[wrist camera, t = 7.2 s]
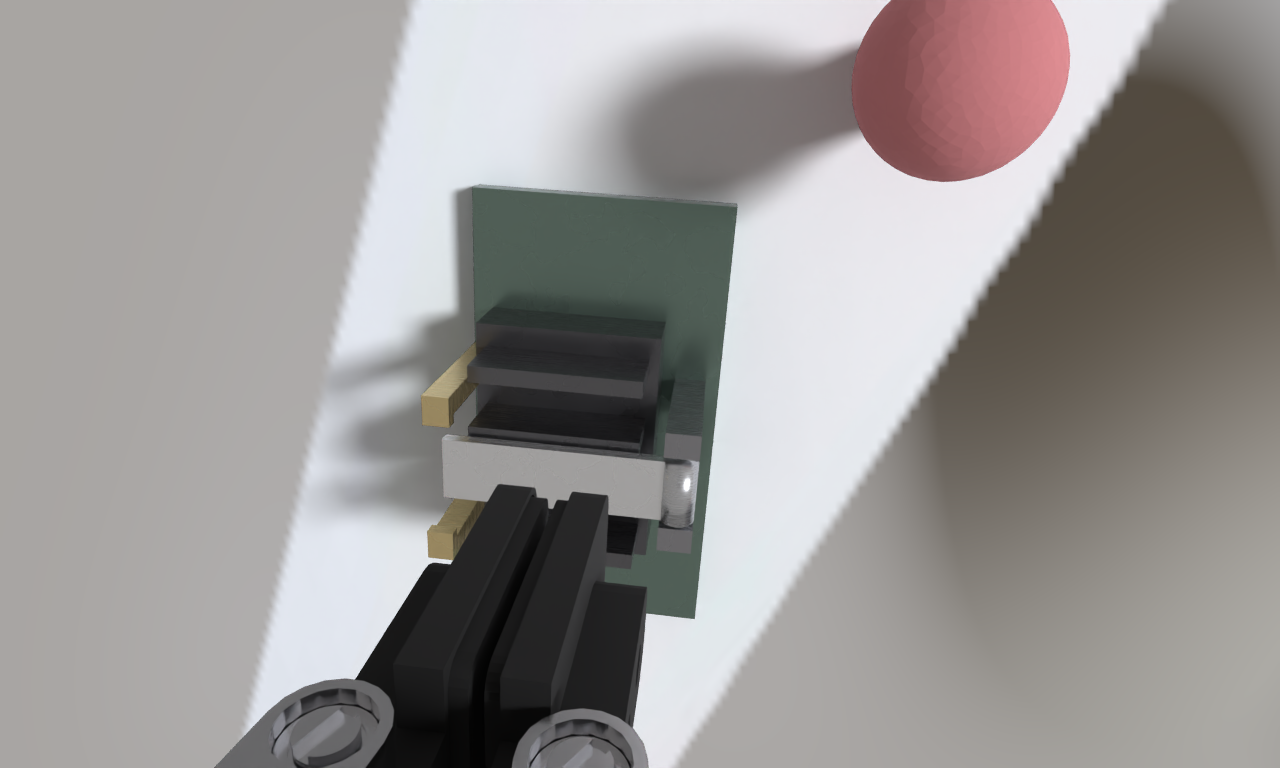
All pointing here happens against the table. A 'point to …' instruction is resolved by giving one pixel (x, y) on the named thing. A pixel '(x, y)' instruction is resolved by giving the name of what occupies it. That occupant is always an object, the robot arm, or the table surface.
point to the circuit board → (597, 353)
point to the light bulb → (959, 83)
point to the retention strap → (573, 476)
